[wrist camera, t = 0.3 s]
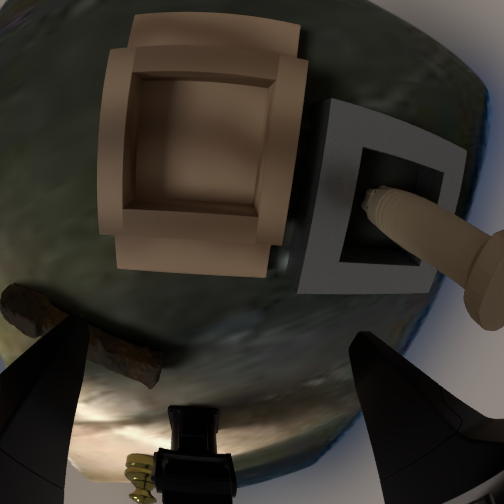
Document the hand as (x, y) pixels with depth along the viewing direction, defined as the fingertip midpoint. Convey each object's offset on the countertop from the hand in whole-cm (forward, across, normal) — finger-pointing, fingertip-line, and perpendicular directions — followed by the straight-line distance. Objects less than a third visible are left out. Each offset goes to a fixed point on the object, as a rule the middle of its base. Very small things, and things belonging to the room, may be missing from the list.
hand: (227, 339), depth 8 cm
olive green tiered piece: (+9, +9, +49) cm, 50 cm away
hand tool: (+13, +13, +15) cm, 24 cm away
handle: (+14, -13, -2) cm, 19 cm away
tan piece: (+14, +2, -4) cm, 15 cm away
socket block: (+14, -13, -2) cm, 19 cm away
